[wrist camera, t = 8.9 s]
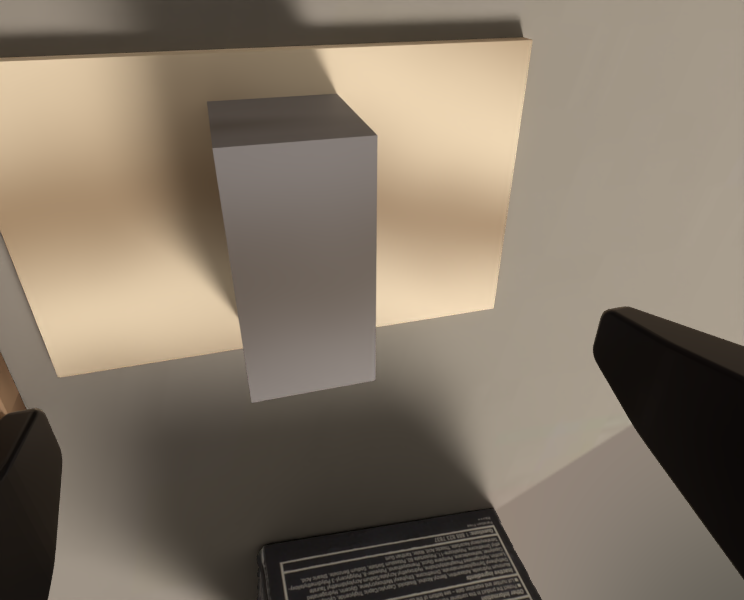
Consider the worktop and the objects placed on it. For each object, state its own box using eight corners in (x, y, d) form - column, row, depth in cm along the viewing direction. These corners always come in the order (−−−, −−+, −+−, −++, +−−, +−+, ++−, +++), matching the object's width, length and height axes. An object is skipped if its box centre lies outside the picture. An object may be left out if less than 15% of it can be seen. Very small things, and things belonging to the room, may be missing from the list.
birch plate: (480, 292, 19) (550, 376, 15) (64, 355, 16) (28, 477, 12) (513, 34, 15) (621, 65, 11) (-47, 55, 12) (-155, 107, 8)
